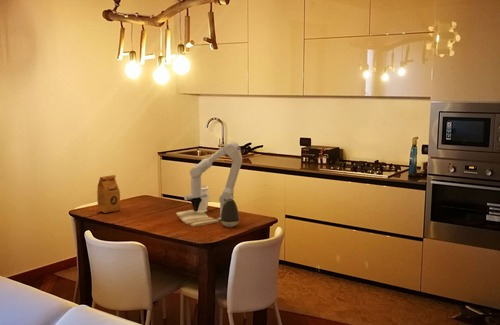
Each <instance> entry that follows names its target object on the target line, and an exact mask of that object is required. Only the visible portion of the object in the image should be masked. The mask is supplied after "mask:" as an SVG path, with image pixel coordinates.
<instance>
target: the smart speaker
mask: <svg viewBox="0 0 500 325" xmlns="http://www.w3.org/2000/svg"><path fill="white" fill-rule="evenodd" d="M224 201H225V203H224V205H223V208H222V211H221V220H220V222H221V224H222V225H223V226H224V227H226V228H234V227H236V226H237V225H238V224H239V222H240V212H239V208H238V205H237V203H236V201H235V199H234V198H233V199H227V200H226V199H224Z"/></svg>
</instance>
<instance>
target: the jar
mask: <svg viewBox="0 0 500 325" xmlns="http://www.w3.org/2000/svg"><path fill="white" fill-rule="evenodd" d="M209 187H210V186H206V185H201V194H207V197H203V198H201V199H202V201H201V203H200V205H199V208H198V209H201V210H202V211H203V212H204V213H206V212H208V209H207V208H208V206H209V199H210V194H209Z"/></svg>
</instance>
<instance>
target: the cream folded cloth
mask: <svg viewBox="0 0 500 325" xmlns="http://www.w3.org/2000/svg"><path fill="white" fill-rule="evenodd" d="M175 213H176V215H177V217H178V218H179V219H180V220H181V221H182V222H183V223H184V224H186V221H191V220H196V219H202V218H207V217H209V216H208V215H207V213H206V212H203V211H202V210H201V209H198V211H194V209H189V210H183V211H178V212H175Z"/></svg>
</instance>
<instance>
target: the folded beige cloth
mask: <svg viewBox="0 0 500 325" xmlns="http://www.w3.org/2000/svg"><path fill="white" fill-rule="evenodd" d="M216 223H220V220H219V219H217V218H214V217H211V216H208V217H207V218H202V219H196V220H191V221H186V223H185V224H186V225H189V226H191V227H193V228H194V227H195V228H196V227H201V226H207V225H211V224H216Z"/></svg>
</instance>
